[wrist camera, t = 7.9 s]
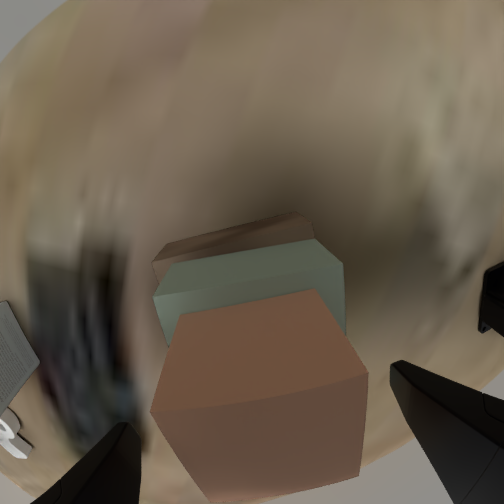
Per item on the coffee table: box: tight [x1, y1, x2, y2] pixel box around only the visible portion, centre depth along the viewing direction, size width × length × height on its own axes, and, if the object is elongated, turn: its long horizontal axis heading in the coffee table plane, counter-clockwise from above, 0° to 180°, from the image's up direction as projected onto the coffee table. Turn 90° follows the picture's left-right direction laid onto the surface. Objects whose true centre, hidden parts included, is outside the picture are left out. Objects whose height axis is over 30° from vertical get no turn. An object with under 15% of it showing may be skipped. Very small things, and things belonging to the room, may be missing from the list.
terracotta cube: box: [150, 288, 368, 503], centre depth 9 cm, size 5×5×5 cm
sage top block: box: [152, 239, 346, 347], centre depth 13 cm, size 7×7×4 cm
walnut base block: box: [151, 212, 315, 284], centre depth 17 cm, size 8×8×4 cm
